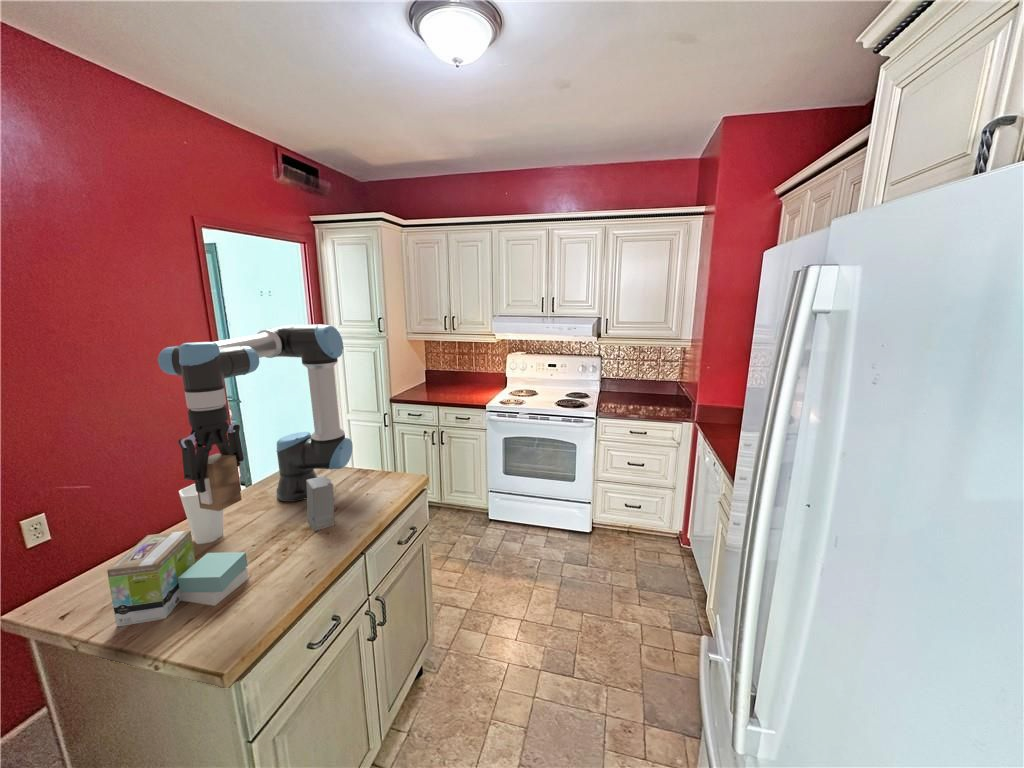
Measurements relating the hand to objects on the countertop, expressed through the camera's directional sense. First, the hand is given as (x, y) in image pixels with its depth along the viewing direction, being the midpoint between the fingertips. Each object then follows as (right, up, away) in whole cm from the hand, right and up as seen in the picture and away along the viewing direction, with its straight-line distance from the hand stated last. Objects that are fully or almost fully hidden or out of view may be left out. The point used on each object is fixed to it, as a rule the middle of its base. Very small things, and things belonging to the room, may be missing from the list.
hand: (220, 496), depth 99 cm
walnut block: (0, -2, 0) cm, 2 cm away
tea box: (-14, -26, -1) cm, 30 cm away
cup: (-23, -21, +26) cm, 40 cm away
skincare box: (+9, -19, +34) cm, 40 cm away
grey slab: (-3, -26, +3) cm, 26 cm away
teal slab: (-3, -22, +2) cm, 22 cm away
